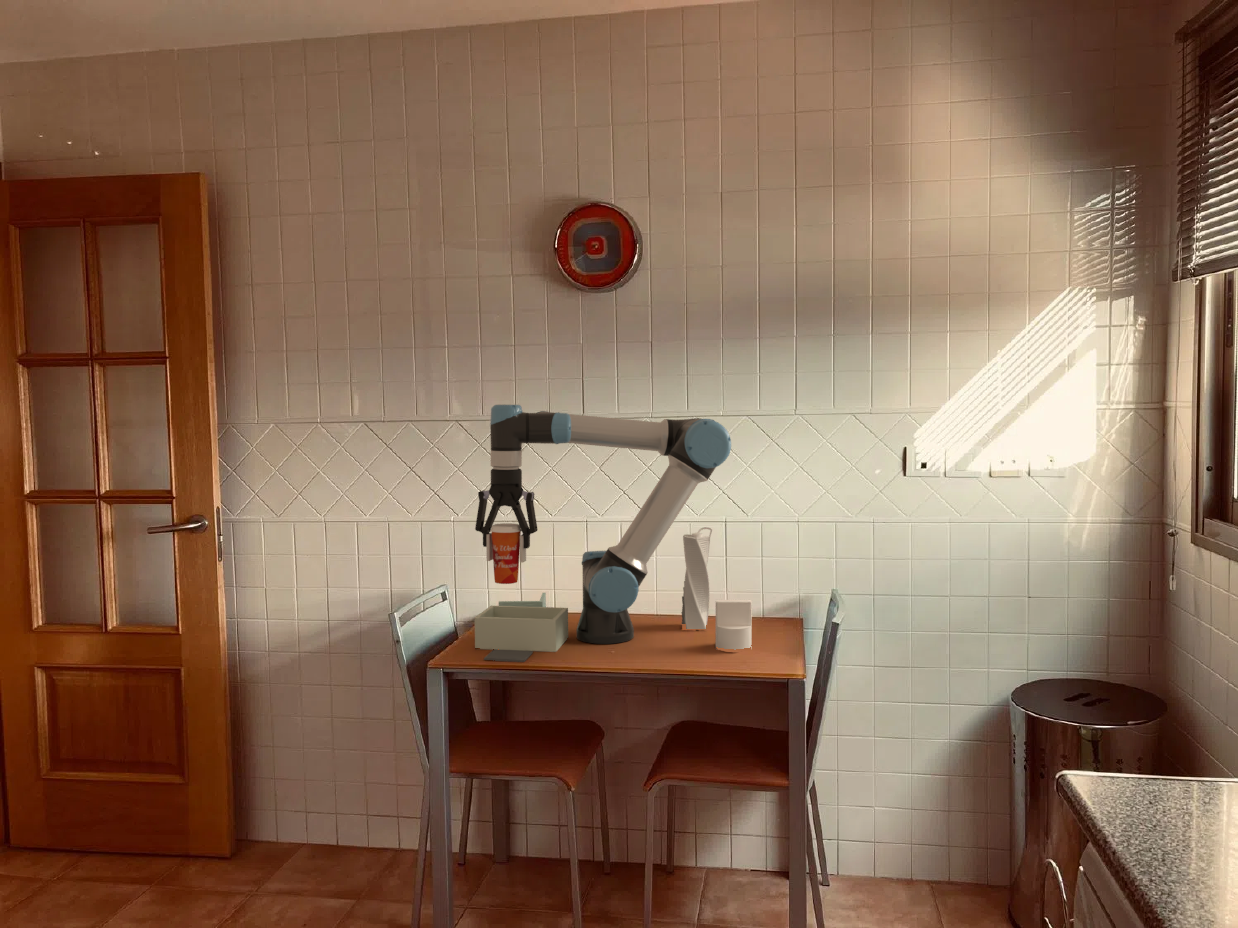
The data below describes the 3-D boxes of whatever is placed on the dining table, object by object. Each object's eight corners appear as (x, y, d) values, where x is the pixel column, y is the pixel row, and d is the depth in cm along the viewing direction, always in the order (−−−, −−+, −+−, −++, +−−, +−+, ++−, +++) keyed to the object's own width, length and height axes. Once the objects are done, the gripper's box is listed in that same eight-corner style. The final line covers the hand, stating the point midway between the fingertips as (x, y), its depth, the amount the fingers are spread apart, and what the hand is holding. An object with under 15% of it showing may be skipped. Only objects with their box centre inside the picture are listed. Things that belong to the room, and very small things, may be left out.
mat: (532, 653, 240) (532, 650, 240) (524, 662, 232) (524, 659, 232) (493, 651, 242) (493, 649, 242) (484, 660, 234) (483, 657, 234)
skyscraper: (711, 625, 268) (711, 525, 266) (712, 633, 260) (712, 529, 258) (681, 625, 268) (681, 525, 266) (680, 632, 260) (680, 529, 258)
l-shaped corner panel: (546, 618, 277) (545, 592, 276) (542, 628, 265) (542, 601, 264) (504, 618, 277) (503, 592, 276) (499, 628, 265) (498, 601, 264)
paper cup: (486, 584, 234) (486, 526, 233) (495, 578, 241) (495, 522, 240) (517, 585, 233) (517, 527, 232) (525, 579, 240) (525, 523, 239)
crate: (568, 637, 255) (568, 607, 254) (556, 651, 241) (555, 620, 240) (491, 634, 258) (491, 605, 258) (475, 648, 244) (474, 617, 244)
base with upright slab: (716, 652, 239) (716, 604, 238) (714, 643, 248) (714, 597, 247) (753, 652, 239) (753, 604, 238) (749, 643, 248) (749, 597, 247)
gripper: (551, 467, 236) (551, 560, 238) (471, 465, 241) (471, 556, 242) (542, 470, 229) (542, 565, 231) (460, 468, 233) (460, 561, 235)
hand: (506, 560), depth 237 cm, fingers closed on paper cup, 8 cm apart
